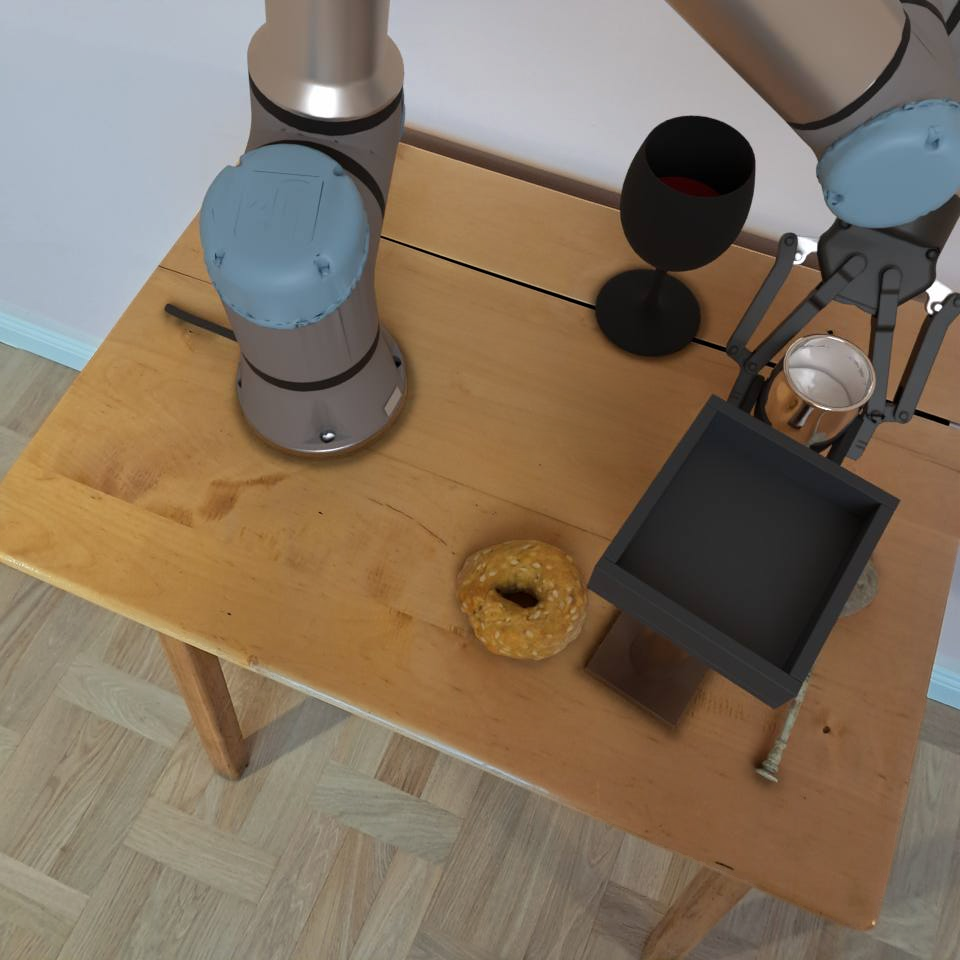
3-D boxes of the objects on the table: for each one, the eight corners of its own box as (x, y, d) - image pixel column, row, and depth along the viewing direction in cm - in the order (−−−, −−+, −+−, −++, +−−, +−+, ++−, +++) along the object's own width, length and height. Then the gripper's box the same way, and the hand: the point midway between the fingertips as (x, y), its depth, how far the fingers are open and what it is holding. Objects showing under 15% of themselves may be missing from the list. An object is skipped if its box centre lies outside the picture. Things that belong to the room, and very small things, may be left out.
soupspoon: (880, 562, 75) (806, 530, 76) (896, 545, 72) (819, 512, 73) (802, 800, 65) (719, 758, 67) (817, 792, 62) (730, 749, 64)
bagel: (495, 523, 75) (498, 499, 70) (607, 591, 72) (616, 571, 68) (429, 616, 71) (428, 597, 67) (544, 691, 68) (550, 676, 64)
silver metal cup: (800, 510, 73) (879, 421, 60) (718, 494, 74) (778, 402, 60) (803, 439, 76) (879, 340, 63) (724, 424, 77) (783, 322, 63)
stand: (583, 671, 69) (636, 570, 49) (634, 593, 72) (704, 467, 52) (671, 730, 67) (765, 652, 47) (719, 647, 70) (828, 539, 50)
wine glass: (700, 276, 87) (764, 113, 69) (701, 363, 82) (770, 213, 64) (596, 266, 87) (633, 101, 69) (592, 352, 83) (630, 200, 65)
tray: (585, 587, 48) (594, 566, 45) (698, 421, 53) (712, 393, 50) (774, 710, 45) (796, 696, 42) (875, 523, 50) (901, 499, 47)
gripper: (1040, 230, 63) (886, 507, 71) (775, 139, 66) (657, 414, 74) (1077, 229, 56) (902, 537, 64) (780, 128, 59) (648, 432, 67)
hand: (771, 470), depth 69 cm, fingers closed on silver metal cup, 7 cm apart
